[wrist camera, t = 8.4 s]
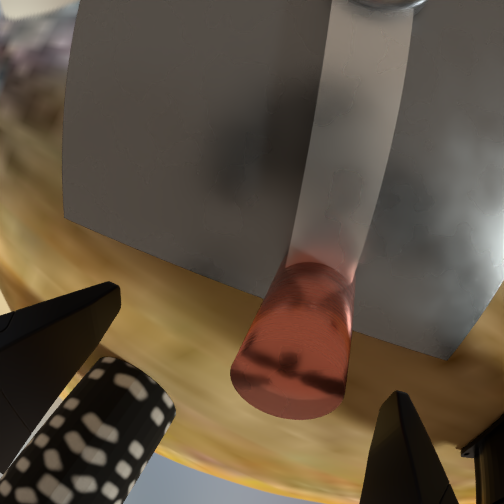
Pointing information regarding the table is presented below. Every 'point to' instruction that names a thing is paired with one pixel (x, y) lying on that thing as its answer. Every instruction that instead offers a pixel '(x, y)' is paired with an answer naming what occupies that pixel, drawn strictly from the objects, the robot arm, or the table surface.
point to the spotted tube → (92, 440)
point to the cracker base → (289, 151)
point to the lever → (330, 216)
